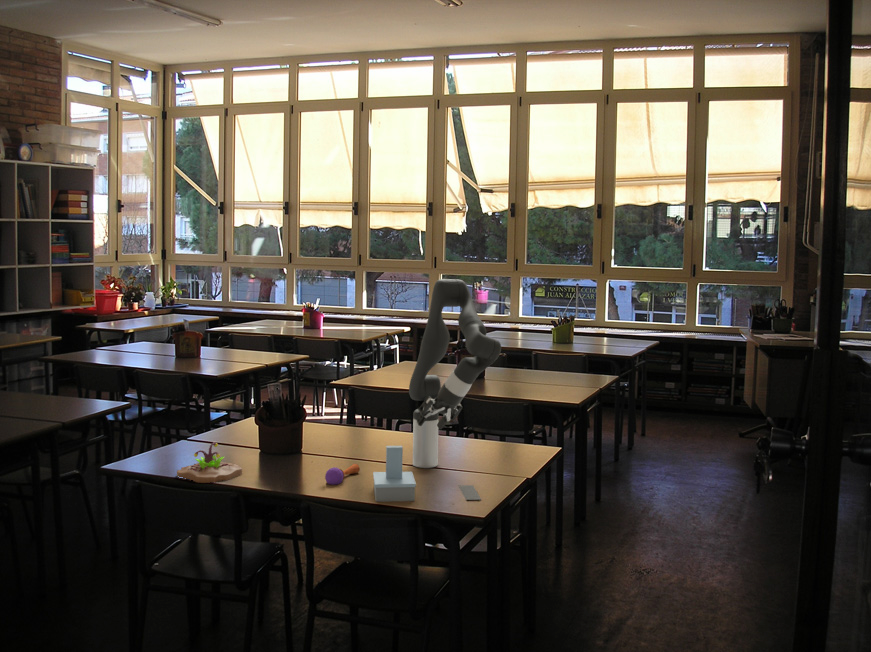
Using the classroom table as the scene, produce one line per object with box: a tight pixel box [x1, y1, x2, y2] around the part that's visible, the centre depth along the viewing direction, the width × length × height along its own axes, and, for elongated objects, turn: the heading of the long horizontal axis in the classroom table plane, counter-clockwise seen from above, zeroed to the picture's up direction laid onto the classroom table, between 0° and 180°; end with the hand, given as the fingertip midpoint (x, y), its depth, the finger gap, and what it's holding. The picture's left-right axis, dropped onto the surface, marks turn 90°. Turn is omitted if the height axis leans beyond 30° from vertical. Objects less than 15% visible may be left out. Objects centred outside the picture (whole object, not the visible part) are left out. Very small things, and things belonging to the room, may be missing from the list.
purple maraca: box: [324, 463, 360, 486], centre depth 272 cm, size 6×6×20 cm
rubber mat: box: [458, 484, 482, 501], centre depth 258 cm, size 16×14×1 cm
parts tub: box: [373, 484, 416, 503], centre depth 253 cm, size 14×12×5 cm
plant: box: [176, 442, 243, 484], centre depth 275 cm, size 20×20×11 cm
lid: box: [372, 445, 417, 488], centre depth 252 cm, size 15×13×11 cm
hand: (428, 425), depth 255 cm, fingers open, 8 cm apart
